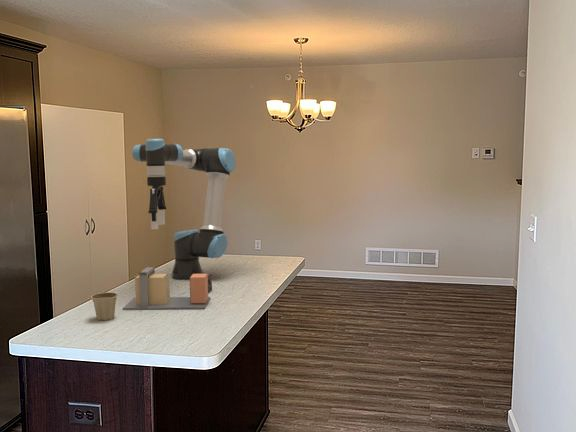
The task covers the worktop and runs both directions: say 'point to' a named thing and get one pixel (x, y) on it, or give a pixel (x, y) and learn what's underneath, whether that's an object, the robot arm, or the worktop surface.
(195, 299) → the block
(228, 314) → the worktop surface
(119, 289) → the worktop surface
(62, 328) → the worktop surface
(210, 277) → the box
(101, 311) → the flower pot
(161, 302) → the holder
